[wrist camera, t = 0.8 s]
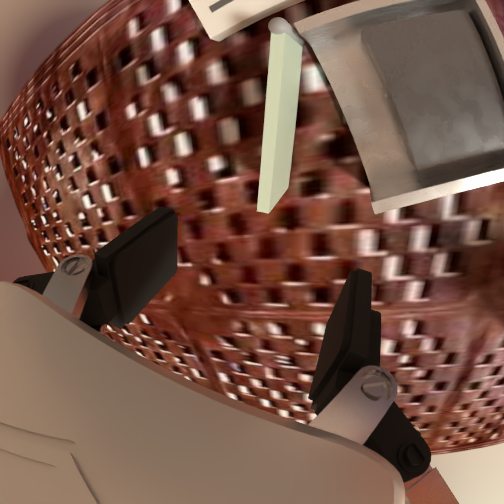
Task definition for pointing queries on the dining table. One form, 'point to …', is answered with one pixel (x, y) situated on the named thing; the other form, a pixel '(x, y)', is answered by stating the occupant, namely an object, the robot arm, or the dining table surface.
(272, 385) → the dining table surface
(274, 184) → the door
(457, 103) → the grey open tray
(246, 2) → the fader panel
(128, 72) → the dining table surface
